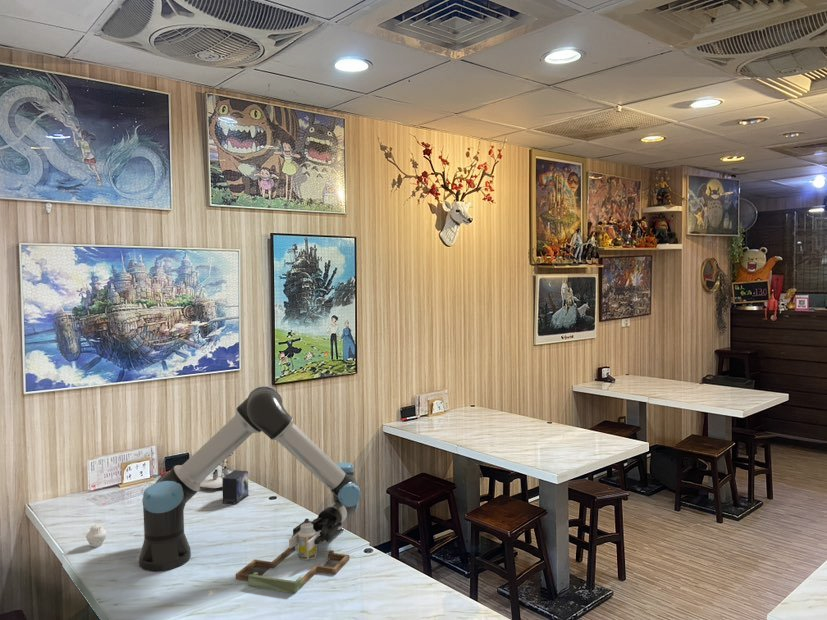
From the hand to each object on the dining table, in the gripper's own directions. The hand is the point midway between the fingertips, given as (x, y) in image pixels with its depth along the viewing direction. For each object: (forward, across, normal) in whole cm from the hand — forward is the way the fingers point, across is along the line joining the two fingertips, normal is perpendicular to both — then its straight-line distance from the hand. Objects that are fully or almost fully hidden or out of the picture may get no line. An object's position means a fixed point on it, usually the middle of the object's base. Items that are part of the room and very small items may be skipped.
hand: (299, 545), depth 188 cm
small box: (-44, +53, -6) cm, 69 cm away
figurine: (-59, +70, -6) cm, 92 cm away
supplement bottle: (-5, 0, -6) cm, 8 cm away
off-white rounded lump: (+7, +73, -6) cm, 73 cm away
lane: (+3, 0, -6) cm, 7 cm away
